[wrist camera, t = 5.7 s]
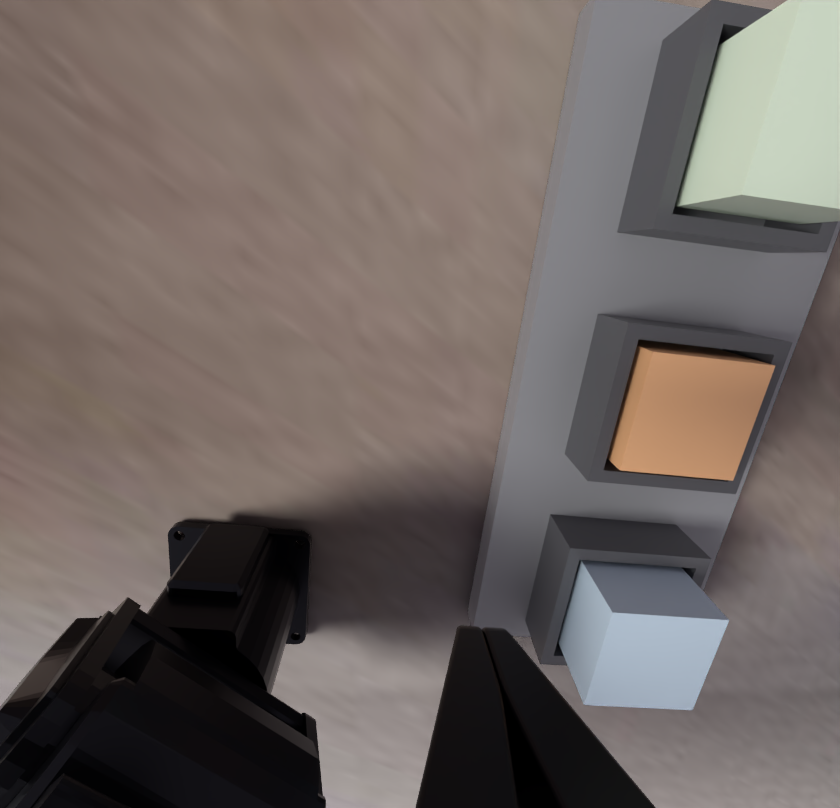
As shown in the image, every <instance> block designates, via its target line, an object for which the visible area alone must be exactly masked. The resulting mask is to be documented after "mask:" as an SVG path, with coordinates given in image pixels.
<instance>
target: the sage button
mask: <svg viewBox="0 0 840 808" xmlns="http://www.w3.org/2000/svg"><path fill="white" fill-rule="evenodd" d="M675 207H681V208H689V209H696V210H703V211H710V212H717V213H724V214H731V215H738V216H745V217H752V218H759V219H767V220H774V221H781V222H788V223H795V224H810V223H822V222H835V221H840V0H787V1H786V2H784V3H783V4H781V5H780V6H778V7H777V8H775V9H774V10H772V11H771V12H769V13H768V14H766V15H765V16H763V17H762V18H760V19H758V20H757V21H755V22H754V23H752V24H751V25H749V26H748V27H746V28H745V29H743V30H742V31H740V32H739V33H737V34H736V35H734V36H733V37H731V38H730V39H728V40H727V41H725V42H724V43H722V44H720V45H719V46H718V49H717V52H716V56H715V60H714V64H713V67H712V71H711V75H710V78H709V82H708V86H707V90H706V93H705V97H704V101H703V104H702V108H701V112H700V115H699V119H698V123H697V127H696V130H695V134H694V138H693V141H692V145H691V149H690V153H689V156H688V160H687V164H686V167H685V171H684V175H683V179H682V182H681V186H680V190H679V193H678V197H677V201H676V205H675Z"/></svg>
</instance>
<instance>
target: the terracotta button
mask: <svg viewBox="0 0 840 808" xmlns="http://www.w3.org/2000/svg"><path fill="white" fill-rule="evenodd" d="M774 368H775V365H771V364H768V363H764V362H761V361H758V360H754V359H751V358H747V357H744V356H740V355H737V354H734V353H730V352H727V351H723V350H720V349H716V348H707V347H698V346H690V345H681V344H673V343H664V342H655V341H647V340H638V344H637V347H636V351H635V355H634V359H633V362H632V366H631V370H630V373H629V377H628V381H627V385H626V388H625V392H624V396H623V399H622V403H621V407H620V411H619V414H618V418H617V422H616V426H615V429H614V433H613V437H612V440H611V444H610V448H609V452H608V455H607V459H609V460H610V461H611V462H612V463H613V464H614V465H615V466H616V467H617V468H618V469H619V470H621V471H632V472H643V473H654V474H665V475H676V476H687V477H698V478H709V479H719V480H730V481H733V480H734V477H735V474H736V472H737V469H738V466H739V463H740V461H741V458H742V455H743V453H744V450H745V447H746V444H747V442H748V439H749V436H750V434H751V431H752V428H753V425H754V423H755V420H756V417H757V415H758V412H759V409H760V406H761V404H762V401H763V398H764V396H765V393H766V390H767V387H768V385H769V382H770V379H771V377H772V374H773V371H774Z"/></svg>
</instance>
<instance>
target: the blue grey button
mask: <svg viewBox="0 0 840 808" xmlns="http://www.w3.org/2000/svg"><path fill="white" fill-rule="evenodd" d="M728 622H729V619H728V618H727V617H726V616H725V615H724V614H723V613H722V612H721V611H720V609H719V608H718V607H717V606H716V605H715V604H714V603H713V602H712V601H711V599H710V598H709V597H708V596H707V595H706V594H705V593H704V592H703V591H702V590H701V588H700V587H699V586H698V585H697V584H696V583H695V582H694V581H693V580H692V579H691V577H690V576H689V575H688V574H687V573H686V572H685V571H684V570H683V569H682V568H681V567H671V566H658V565H644V564H631V563H617V562H604V561H591V560H580V561H579V565H578V569H577V572H576V576H575V580H574V583H573V587H572V591H571V595H570V598H569V602H568V606H567V609H566V613H565V617H564V621H563V624H562V628H561V632H560V635H559V639H558V643H559V646H560V648H561V650H562V653H563V655H564V658H565V660H566V663H567V665H568V667H569V670H570V672H571V675H572V677H573V679H574V682H575V684H576V687H577V689H578V692H579V694H580V696H581V699H582V701H583V704H584V705H595V706H616V707H636V708H657V709H678V710H693V708H694V705H695V703H696V700H697V698H698V695H699V693H700V691H701V688H702V686H703V683H704V681H705V678H706V676H707V673H708V671H709V669H710V666H711V664H712V661H713V659H714V656H715V654H716V651H717V649H718V647H719V644H720V642H721V639H722V637H723V634H724V632H725V629H726V627H727V625H728Z"/></svg>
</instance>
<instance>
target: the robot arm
mask: <svg viewBox="0 0 840 808" xmlns="http://www.w3.org/2000/svg"><path fill="white" fill-rule="evenodd" d="M178 531H180V532H183V533H184V536H183V535H180V534H179V533H178ZM297 540H301V541H303V542H304V544H298V543H297V542H296V541H297ZM168 542H169V559H170V576H171V578H170V579H169V581H168V582H167V586H166V587H165V589H164V590H163V592H162V593H161V594H160V596H159V597H158V599H157V600H156V602H155V603H154V604H153V606H152V607H151V609H150V610H149V611H148V613H145V612H143V611H142V610H140V609H139V608H140V606H141V605H139V604H137V603H136V602H134V601H133V600H131V599H130V598H128V597H127V598H126V599H125V600H124V601H123V602H122V603H121V604H120V605H119V606H118V607H117V608H116V609H115V610H114V611H113V612H110V611H108V612H107V613H105V614H104V615H103V616H100V617H99V618H77V619H76V620H75V621H74V622H73V623H72V624H71V625H70V626H69V627H68V628H67V629H66V630H65V632H64V633H63V634H62V635H61V636H60V637H59V638H58V639H57V641H56V642H55V643H54V644H53V645H52V646H51V647H50V648H49V650H48V651H47V652H46V653H45V654H44V655H43V656H42V657H41V659H40V660H39V661H38V662H37V663H36V664H35V665H34V667H33V668H32V669H31V670H30V671H29V672H28V673H27V675H26V676H25V677H24V678H23V679H22V681H21V682H20V683H19V684H18V685H17V687H16V688H15V689H14V690H13V692H12V693H11V694H10V695H9V697H8V698H7V699H6V700H5V702H4V703H3V704H2V705H1V707H0V808H326V800H325V797H324V796H323V793H322V783H321V772H320V761H319V751H318V740H317V730H316V721H315V719H314V718H312V717H311V716H309V715H308V714H306V713H302V714H300V713H299V712H297V711H296V710H294V709H293V708H291V707H290V706H288V705H287V704H285V703H284V702H282V701H280V700H279V699H277V698H276V697H274V696H273V695H271V692H272V689H273V685H274V682H275V678H276V675H277V671H278V668H279V665H280V661H281V658H282V654H283V651H284V647H285V644H300V643H302V642H303V641H304V640H305V636H306V632H307V619H308V601H309V582H310V563H311V545H312V539H311V536H310V535H309V534H308V533H307V532H305V531H298V530H285V529H272V528H265V527H260V526H247V525H234V524H221V523H211V524H206V523H193V522H178V523H176V524H175V525H174V526H173V527H172V528H171V529H170V531H169V533H168ZM295 632H296V633H299V634H294V633H295ZM416 808H655V806H654V805H653V804H652V803H651V802H650V800H649V799H648V798H647V797H646V796H645V794H644V793H643V792H642V791H641V790H640V789H639V787H638V786H637V785H636V784H635V783H634V781H633V780H632V779H631V778H630V777H629V775H628V774H627V773H626V772H625V771H624V769H623V768H622V767H621V766H620V765H619V763H618V762H617V761H616V760H615V759H614V757H613V756H612V755H611V754H610V753H609V751H608V750H607V749H606V748H605V747H604V745H603V744H602V743H601V742H600V741H599V740H598V738H597V737H596V736H595V735H594V734H593V732H592V731H591V730H590V729H589V728H588V726H587V725H586V724H585V723H584V722H583V720H582V719H581V718H580V717H579V716H578V714H577V713H576V712H575V711H574V710H573V708H572V707H571V706H570V705H569V704H568V702H567V701H566V700H565V699H564V698H563V696H562V695H561V694H560V693H559V692H558V691H557V689H556V688H555V687H554V686H553V685H552V683H551V682H550V681H549V680H548V679H547V677H546V676H545V675H544V674H543V673H542V671H541V670H540V669H539V668H538V667H537V665H536V664H535V663H534V662H533V661H532V659H531V658H530V657H529V656H528V655H527V653H526V652H525V651H524V650H523V649H522V647H521V646H520V645H519V644H518V643H517V642H516V640H515V639H514V638H513V637H512V636H511V634H510V633H509V632H508V631H507V630H506V629H504V628H494V627H484V628H482V629H481V628H479V627H477V626H459V627H458V628H457V631H456V635H455V640H454V644H453V648H452V653H451V657H450V661H449V665H448V670H447V674H446V678H445V683H444V687H443V691H442V696H441V700H440V704H439V709H438V713H437V717H436V722H435V726H434V730H433V735H432V739H431V743H430V748H429V752H428V756H427V761H426V765H425V769H424V774H423V778H422V782H421V787H420V791H419V795H418V800H417V804H416Z"/></svg>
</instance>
